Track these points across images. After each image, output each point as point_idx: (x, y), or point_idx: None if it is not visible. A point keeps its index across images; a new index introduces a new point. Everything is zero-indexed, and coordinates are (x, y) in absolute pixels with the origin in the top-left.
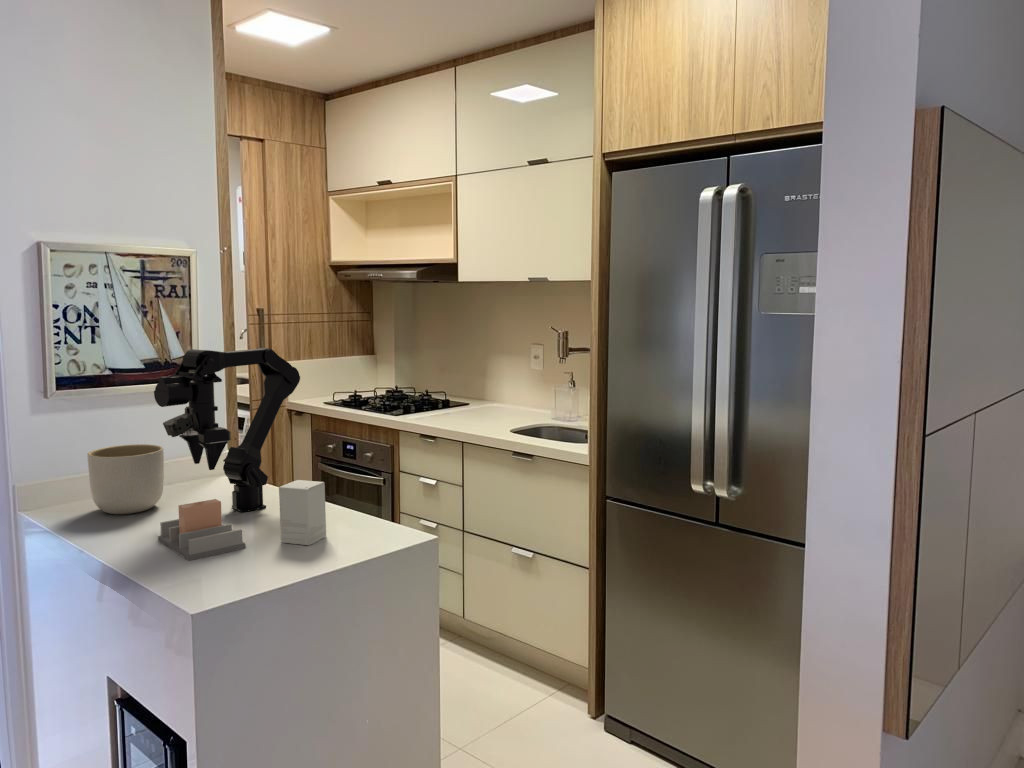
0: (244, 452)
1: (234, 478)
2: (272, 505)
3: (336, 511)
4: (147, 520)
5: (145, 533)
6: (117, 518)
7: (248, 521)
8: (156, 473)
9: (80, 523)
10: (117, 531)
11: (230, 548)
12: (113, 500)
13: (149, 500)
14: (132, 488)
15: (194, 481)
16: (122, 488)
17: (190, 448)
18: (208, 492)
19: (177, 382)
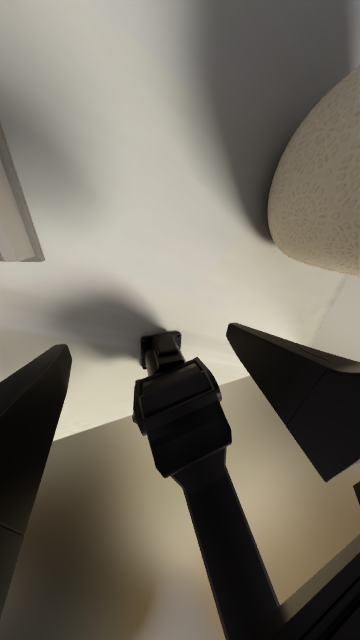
0: (159, 464)
1: (171, 372)
2: None
3: (63, 429)
4: (214, 178)
5: (102, 90)
6: (276, 131)
7: (75, 332)
8: (328, 232)
9: (320, 4)
10: (178, 28)
11: None
12: (327, 94)
13: (272, 210)
14: (322, 140)
15: (314, 326)
16: (346, 98)
17: (297, 351)
18: (268, 326)
19: None
